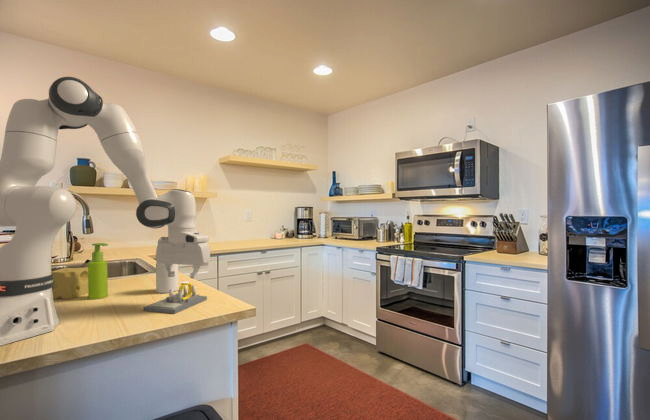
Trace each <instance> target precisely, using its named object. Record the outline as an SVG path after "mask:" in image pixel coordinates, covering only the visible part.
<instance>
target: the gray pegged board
mask: <svg viewBox="0 0 650 420" xmlns="http://www.w3.org/2000/svg"><path fill="white" fill-rule="evenodd" d="M191 285H192V293H191V296H190V297H189V298H187V299H185V300H182V297H183V298H184V297H186V295H187V294H188V285H185V286H184V288H183V290H179V289H178V290H177V293H174V292H173V289H170V290H169V293H168V296H167V297H165V298H164V299H162V300H159V301H155V302H153V303H151V304H148V305H145V306H143V312H155V313H163V314H164V313H165V314H172V315H173V314H174V315H175V314H178V313H180V312H182V311H185V310H187V309H189V308H191V307H193V306H195V305H196V306H197V305H198V304H200V303H203V302H204V301H207V300H208V296H207V295H200V294H197V288H196V284H191Z"/></svg>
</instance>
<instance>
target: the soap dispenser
mask: <svg viewBox="0 0 650 420" xmlns="http://www.w3.org/2000/svg"><path fill="white" fill-rule="evenodd" d="M108 245H109V244H108V243H105V242H99V243H98V242H97V243H91V246H93V247H94V251H93V252H91V260H92V261H91V262H88V293H87V294H88V300H102V299H106V298H108V294H109V293H108V287H109V286H108V283H109V282H108V260H104V251H102V250H101V246H103V247H107V246H108Z"/></svg>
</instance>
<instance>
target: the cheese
mask: <svg viewBox="0 0 650 420" xmlns="http://www.w3.org/2000/svg"><path fill="white" fill-rule="evenodd" d="M51 274H53V280H54V287H53V291H52V293H53V300H57V299H62V300H73V299H76V298H78V297H80V296H83V295H86V294H88V267H84V268H80V267H64V268H59V269H56V270H51Z"/></svg>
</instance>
